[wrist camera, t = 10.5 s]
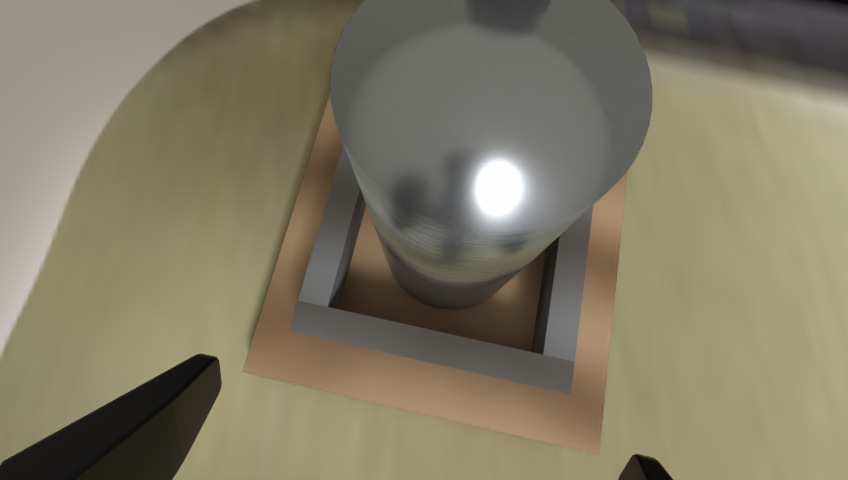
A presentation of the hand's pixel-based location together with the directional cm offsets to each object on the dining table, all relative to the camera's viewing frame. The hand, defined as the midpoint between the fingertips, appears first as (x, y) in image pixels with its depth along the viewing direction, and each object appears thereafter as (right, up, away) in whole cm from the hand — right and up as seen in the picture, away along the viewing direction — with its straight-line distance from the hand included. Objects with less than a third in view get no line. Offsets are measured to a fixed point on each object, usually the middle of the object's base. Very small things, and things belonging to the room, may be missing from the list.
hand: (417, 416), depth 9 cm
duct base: (+2, +5, +12) cm, 13 cm away
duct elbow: (+2, +6, +11) cm, 12 cm away
